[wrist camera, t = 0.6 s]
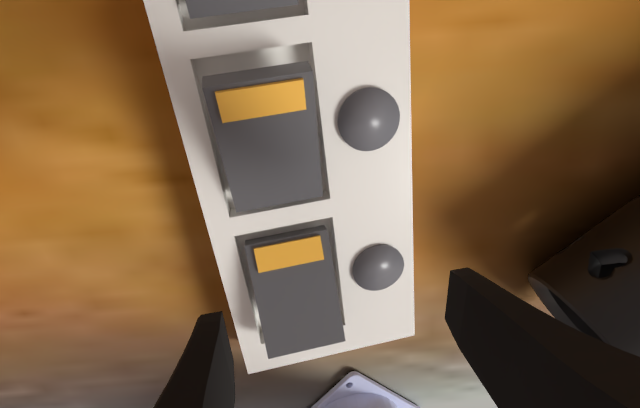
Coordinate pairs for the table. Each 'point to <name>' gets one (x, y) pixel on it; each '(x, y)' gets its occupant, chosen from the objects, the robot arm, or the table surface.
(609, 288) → the black foam roller
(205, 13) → the rocker
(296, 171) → the middle rocker
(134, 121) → the table surface
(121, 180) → the table surface
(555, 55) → the table surface
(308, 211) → the switch strip
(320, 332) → the rocker
